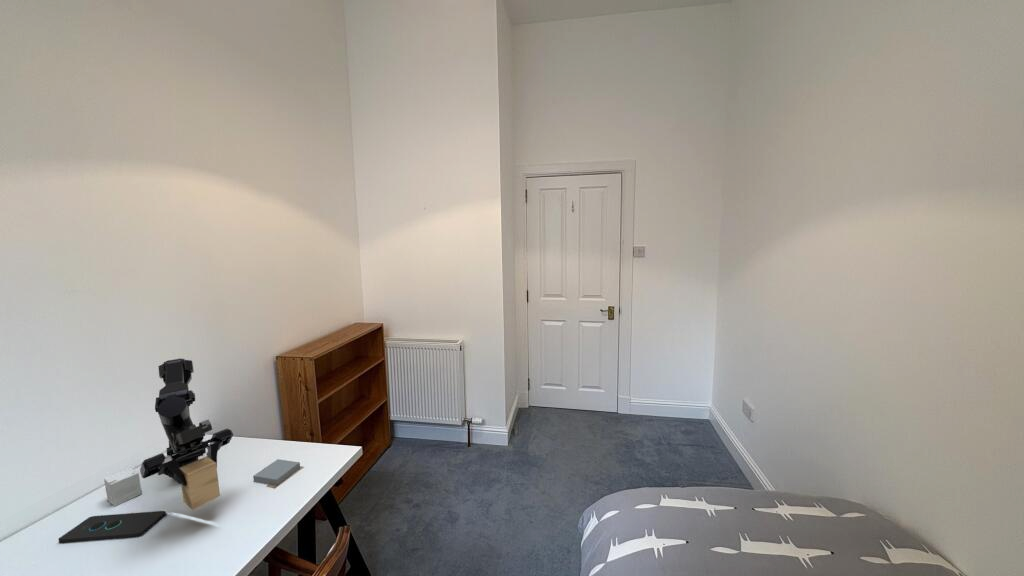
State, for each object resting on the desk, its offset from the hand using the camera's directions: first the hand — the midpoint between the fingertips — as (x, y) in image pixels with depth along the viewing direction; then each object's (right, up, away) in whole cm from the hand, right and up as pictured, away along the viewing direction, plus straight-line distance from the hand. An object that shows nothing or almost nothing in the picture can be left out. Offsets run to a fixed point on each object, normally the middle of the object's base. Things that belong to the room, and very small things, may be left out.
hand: (201, 478), depth 95 cm
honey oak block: (-1, -7, +2) cm, 7 cm away
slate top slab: (+7, -10, +20) cm, 23 cm away
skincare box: (-35, -13, +12) cm, 39 cm away
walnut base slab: (+7, -12, +20) cm, 25 cm away
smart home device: (-24, -15, +1) cm, 28 cm away
